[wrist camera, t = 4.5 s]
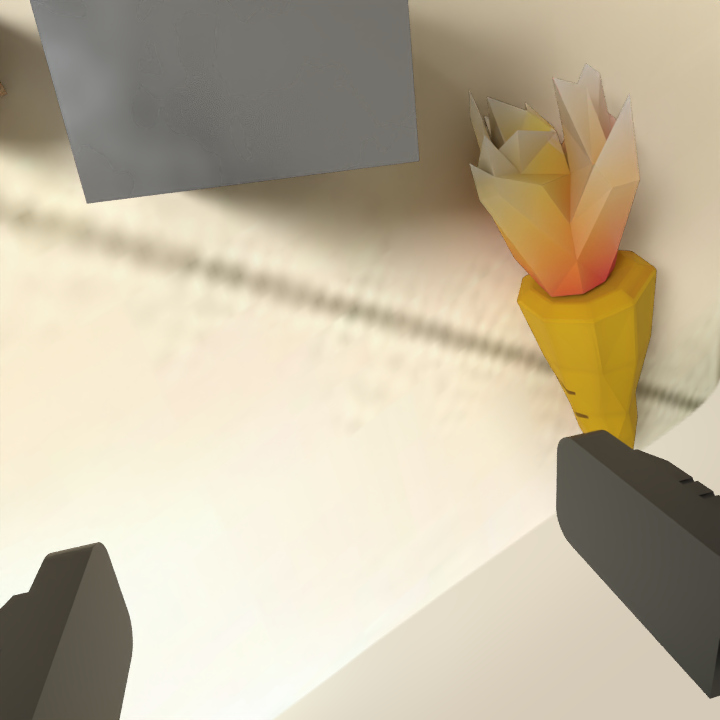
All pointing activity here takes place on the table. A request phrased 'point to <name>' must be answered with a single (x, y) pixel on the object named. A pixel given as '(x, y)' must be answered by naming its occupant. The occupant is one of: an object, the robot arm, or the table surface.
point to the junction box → (228, 89)
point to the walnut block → (2, 90)
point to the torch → (573, 242)
